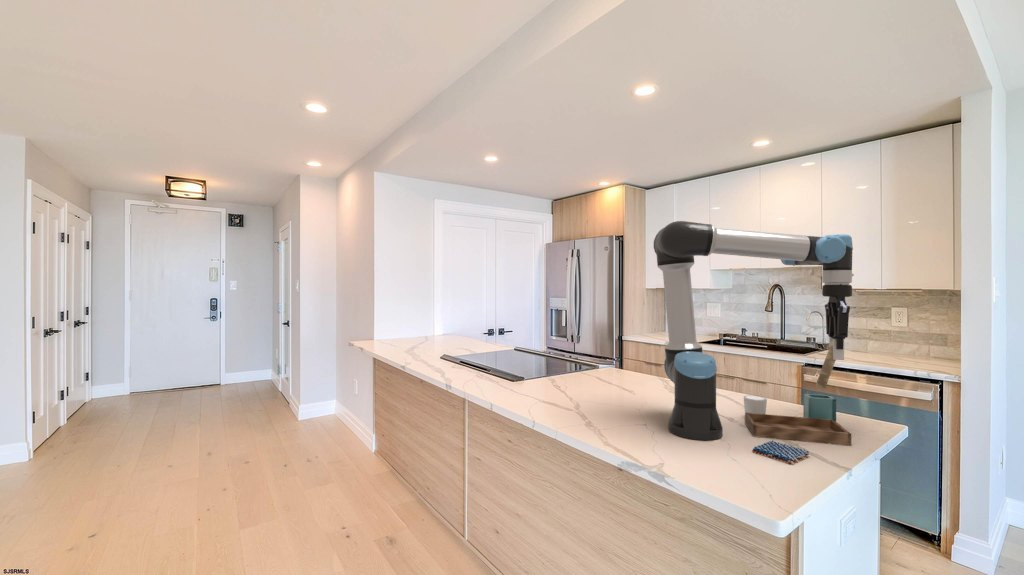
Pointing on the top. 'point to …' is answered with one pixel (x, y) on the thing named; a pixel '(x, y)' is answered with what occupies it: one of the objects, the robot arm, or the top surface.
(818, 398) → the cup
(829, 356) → the dowel
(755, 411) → the shot glass
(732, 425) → the top surface
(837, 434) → the tray
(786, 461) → the woven mat
